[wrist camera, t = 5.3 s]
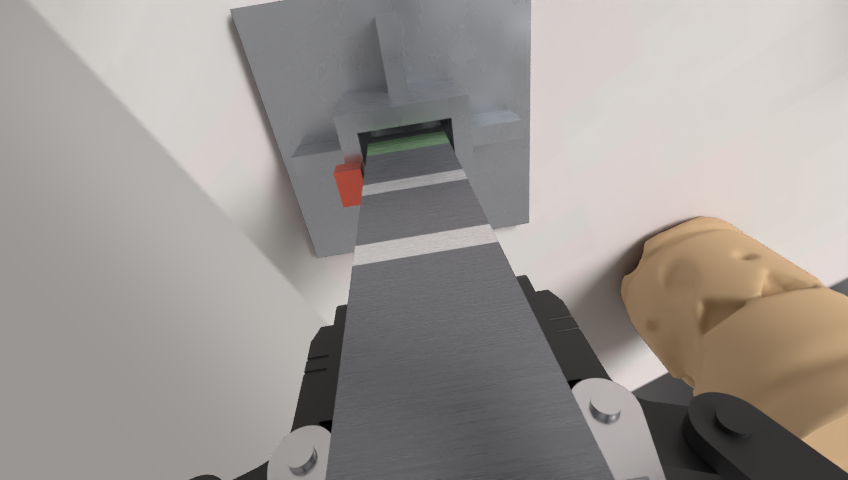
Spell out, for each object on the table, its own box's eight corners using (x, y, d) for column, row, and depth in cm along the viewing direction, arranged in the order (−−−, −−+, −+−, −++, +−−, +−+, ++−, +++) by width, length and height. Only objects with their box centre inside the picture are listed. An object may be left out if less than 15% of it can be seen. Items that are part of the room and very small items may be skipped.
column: (364, 119, 20) (253, 710, 3) (439, 107, 20) (734, 629, 3) (386, 218, 23) (390, 774, 6) (450, 207, 23) (627, 735, 6)
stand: (235, 9, 23) (158, 8, 15) (526, -39, 23) (598, -64, 15) (319, 251, 32) (298, 328, 25) (525, 217, 32) (569, 282, 25)
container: (695, 189, 33) (970, 348, 17) (761, 257, 37) (1023, 428, 22) (585, 285, 37) (725, 477, 22) (656, 334, 42) (812, 520, 27)
